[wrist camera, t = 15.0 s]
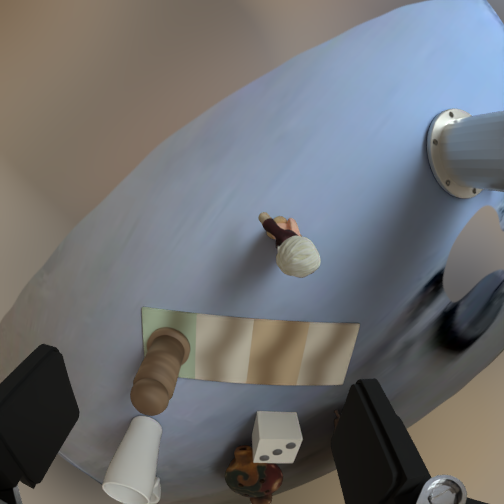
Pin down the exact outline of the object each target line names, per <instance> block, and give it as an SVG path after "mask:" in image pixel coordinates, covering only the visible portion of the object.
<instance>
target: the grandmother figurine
mask: <svg viewBox="0 0 504 504" xmlns="http://www.w3.org/2000/svg"><path fill="white" fill-rule="evenodd" d="M259 221H260V222H261V223H262V225H263V228H264V229H265V230H266V233H267V235H268V236H269V237H270V238H272V239H275V240H276V248H277V251H278V253H277V255H276V263H277V265H278V267H279V268H280V269H281V271H282V272H283V273H284V274H287V275H290V276H295V277H299V278H303V277H305V276H307V275H309V274H312V273H313V272H314V271H316V270H317V269H318V268H319V265H320V262H321V260H320V255H319V253H318V251H317V249H316V247H315V246H314V244H313V243H312V242H311V241H310V240H309V239H308V238H306V237H302V236H301V234H300V232H299V229H298V226H297V223H296V221H295V220H294V219H292V218H289V219H288V221H287V220H286V219H285V218H284V217H281V216H278V217H276V218H274V219H272V218H271V217H269V215H268V214H267V213H265V212H263V213H261V214H260V215H259Z"/></svg>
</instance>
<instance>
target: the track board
mask: <svg viewBox="0 0 504 504" xmlns="http://www.w3.org/2000/svg"><path fill="white" fill-rule="evenodd" d="M142 323H143V341H144V355H145V356H146V354H147V352H148V350H147V342H148V339H149V337H150V335H151V334H152V332H154V331H155V330H156V329H158V328H162V327H170V328H174V329H176V330H178V331H180V332H182V333H183V334H184V335H185V336H186V337H187V339H188V341H189V343H190V354H189V357H188V360H187V361H186V362H185V363H184V364H183V365H181V368H180V371H179V375H178V377H183V378H191V379H200V380H209V381H220V382H232V383H246V384H266V385H343V382H344V378H345V375H346V372H347V369H348V366H349V362H350V359H351V356H352V352H353V349H354V345H355V342H356V338H357V334H358V331H359V327H360V324H359V323H324V322H301V321H283V320H268V319H254V318H241V317H229V316H219V315H208V314H199V313H189V312H181V311H172V310H164V309H156V308H148V307H142Z"/></svg>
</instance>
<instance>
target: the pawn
mask: <svg viewBox="0 0 504 504" xmlns="http://www.w3.org/2000/svg"><path fill="white" fill-rule="evenodd" d="M147 350H148V352H147V354H146V356H145V358H144V360H143V362H142V364H141V366H140V368H139V370H138V372H137V374H136V376H135V378H134V381H133V387H132V389H131V394H130V397H131V402H132V404H133V406H134V407H135V408H136V409H137V410H138V411H139V412H140V413H142V414H145V415H149V416H154V415H158V414H160V413H162V412H163V411H164V410H165V409H166V408H167V406H168V403H169V400H170V399H171V398H172V396H173V392H174V389H175V385H176V382H177V378H178V375H179V371H180V368H181V365H183V364H184V363H185V362H186V361H187V360H188V357H189V354H190V343H189V341H188V339H187V337H186V336H185V335H184V334H183V333H182V332H180V331H178V330H176V329H174V328H170V327H162V328H158V329H156V330H155V331H154V332H152V334H151V335H150V337H149V339H148V342H147Z"/></svg>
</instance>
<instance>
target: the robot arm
mask: <svg viewBox="0 0 504 504" xmlns="http://www.w3.org/2000/svg"><path fill="white" fill-rule="evenodd" d="M427 153H428V159H429V163H430V166H431V169H432V172H433V174H434V176H435V178H436V180H437V181H438V183H439V184H440V186H441V187H442V188H443V189H444V190H445V191H446V192H448V193H449V194H450V195H452V196H455V197H458V198H472V197H474V196H476V195H478V194H479V193H480V192H481V191H482V190H483V189H485V190H493V191H500V192H504V111H498V112H492V113H486V114H481V115H475V116H471V115H470V114H469V113H467V112H466V111H463V110H460V109H448V110H445V111H442V112H441V113H439V114H438V115H437V116H436V117H435V118H434V120H433V121H432V123H431V126H430V128H429V132H428V138H427ZM78 418H79V408H78V405H77V402H76V399H75V396H74V393H73V390H72V387H71V384H70V381H69V377H68V374H67V370H66V367H65V363H64V359H63V356H62V354H61V353H60V352H59V350H58V349H57V348H56V347H53V346H49V345H46V344H41V345H40V346H39V347H37V348H36V349H35V350H34V351H33V352H32V353H31V354H30V355H29V356H28V357H27V358H26V359H25V360H24V361H23V362H22V363H21V364H20V365H19V366H18V367H17V368H16V369H15V370H14V371H13V372H12V373H11V374H10V375H9V376H8V377H7V378H6V379H5V380H4V381H3V382H2V383H1V384H0V504H22V501H21V497H20V493H19V489H18V485H17V484H18V482H19V481H21V482H22V483H24V484H26V485H27V486H29V487H31V488H33V489H34V487H35V485H36V484H38V483H40V482H41V481H42V480H43V478H44V476H45V474H46V472H47V471H48V469H49V467H50V465H51V463H52V462H53V460H54V458H55V457H56V455H57V453H58V452H59V450H60V448H61V446H62V445H63V443H64V441H65V440H66V438H67V436H68V435H69V433H70V431H71V430H72V428H73V426H74V425H75V423H76V422H77V420H78ZM331 449H332V453H333V457H334V461H335V465H336V468H337V472H338V476H339V480H340V484H341V488H342V492H343V496H344V500H345V504H488V503H484V502H481V501H477V500H474V499H470V498H467V491H466V488H465V486H464V485H463V483H462V482H461V481H460V480H459V479H457V478H455V477H453V476H450V475H437V476H435V477H433V478H431V476H430V474H429V472H428V470H427V468H426V466H425V464H424V462H423V460H422V458H421V456H420V455H419V452H418V451H417V448H416V446H415V445H414V443H413V441H412V439H411V437H410V435H409V433H408V431H407V429H406V428H405V426H404V424H403V422H402V420H401V419H400V417H399V416H397V415H396V413H395V411H394V409H393V408H392V406H391V404H390V402H389V400H388V398H387V397H386V395H385V393H384V391H383V389H382V388H381V386H380V384H379V382H378V381H377V379H360V380H358V381H357V382H356V384H353V385H351V387H350V390H349V393H348V396H347V399H346V402H345V405H344V407H343V410H342V413H341V416H340V418H339V421H338V424H337V427H336V429H335V432H334V434H333V437H332V440H331Z"/></svg>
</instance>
